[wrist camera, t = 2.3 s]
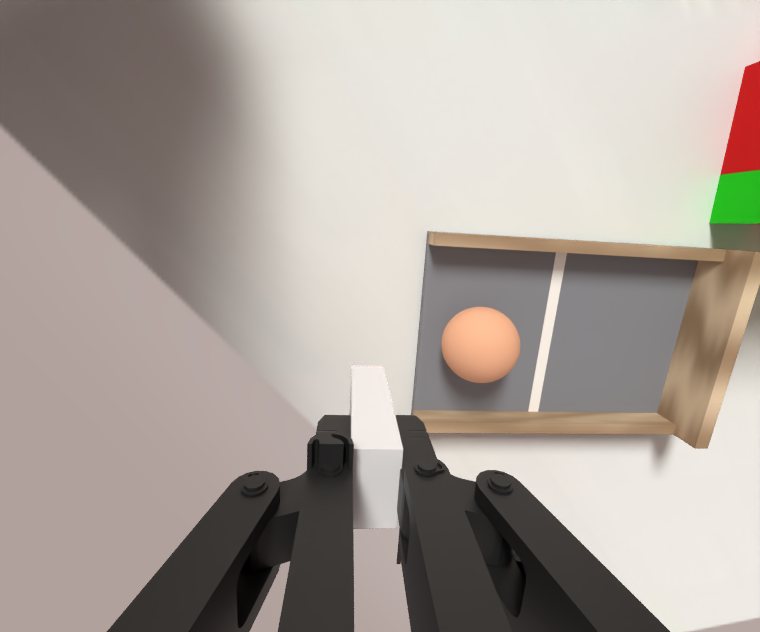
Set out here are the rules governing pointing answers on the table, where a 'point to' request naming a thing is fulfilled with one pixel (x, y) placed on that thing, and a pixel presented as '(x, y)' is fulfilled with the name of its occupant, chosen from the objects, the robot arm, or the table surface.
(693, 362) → the divided wooden tray
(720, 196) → the puzzle toy
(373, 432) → the robot arm
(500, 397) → the tray
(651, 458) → the table surface
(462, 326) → the ball
